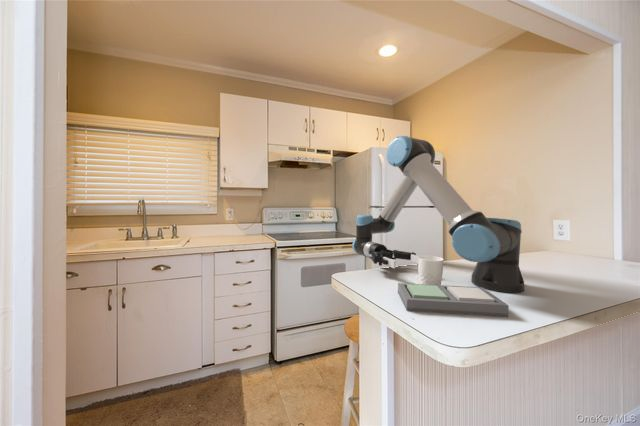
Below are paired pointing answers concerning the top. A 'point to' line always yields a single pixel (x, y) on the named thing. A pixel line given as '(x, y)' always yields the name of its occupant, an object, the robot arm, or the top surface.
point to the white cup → (430, 270)
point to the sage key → (426, 292)
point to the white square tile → (469, 294)
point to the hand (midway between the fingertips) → (409, 262)
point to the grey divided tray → (452, 303)
